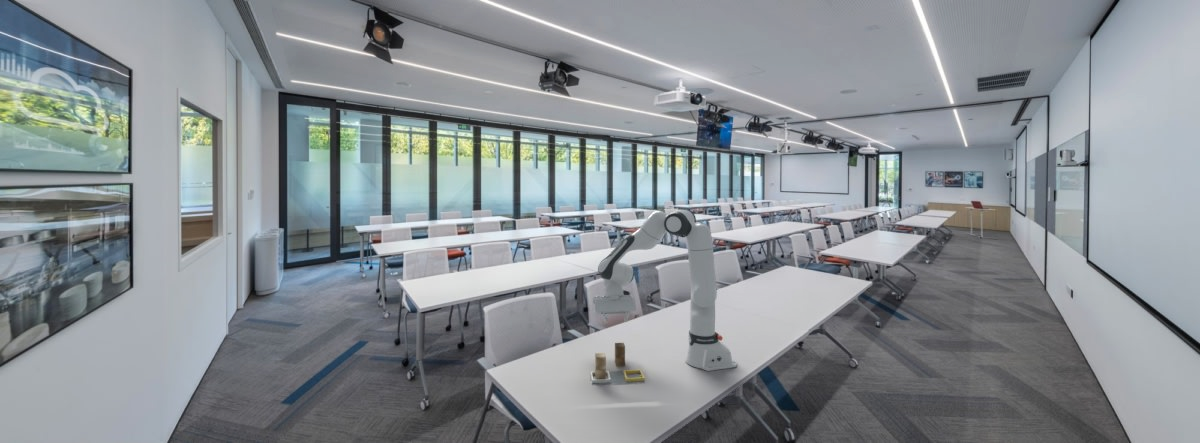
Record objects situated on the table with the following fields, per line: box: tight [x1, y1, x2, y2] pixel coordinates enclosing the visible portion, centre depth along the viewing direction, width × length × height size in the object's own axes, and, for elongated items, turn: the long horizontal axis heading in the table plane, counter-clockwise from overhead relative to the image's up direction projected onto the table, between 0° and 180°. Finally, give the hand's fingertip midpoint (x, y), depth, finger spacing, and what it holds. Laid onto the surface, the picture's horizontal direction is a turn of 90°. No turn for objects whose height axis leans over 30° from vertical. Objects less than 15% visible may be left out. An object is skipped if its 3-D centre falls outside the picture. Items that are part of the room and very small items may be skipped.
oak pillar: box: [594, 352, 607, 379], centre depth 179 cm, size 4×4×10 cm
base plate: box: [589, 369, 647, 387], centre depth 180 cm, size 22×12×2 cm, turn 96°
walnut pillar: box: [614, 342, 626, 367], centre depth 193 cm, size 4×4×10 cm
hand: (616, 321), depth 204 cm, fingers open, 8 cm apart
